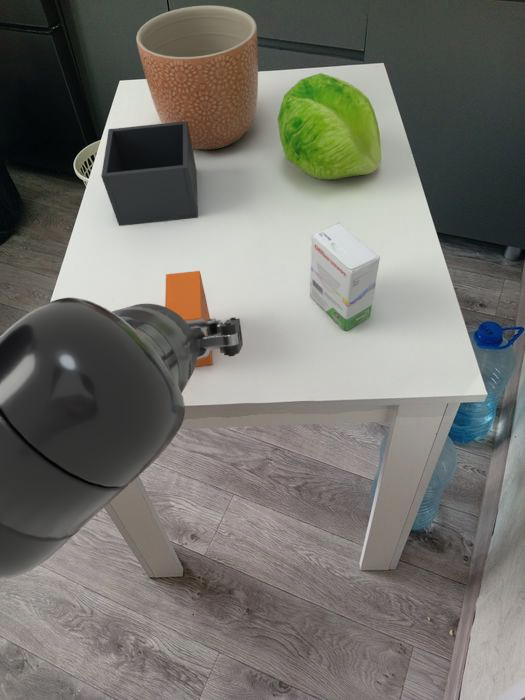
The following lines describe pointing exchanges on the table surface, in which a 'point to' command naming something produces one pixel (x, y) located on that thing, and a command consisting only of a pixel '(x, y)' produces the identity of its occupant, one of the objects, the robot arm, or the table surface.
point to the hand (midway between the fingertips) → (171, 334)
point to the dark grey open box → (150, 173)
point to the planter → (203, 71)
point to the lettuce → (329, 128)
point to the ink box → (343, 275)
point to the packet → (188, 300)
